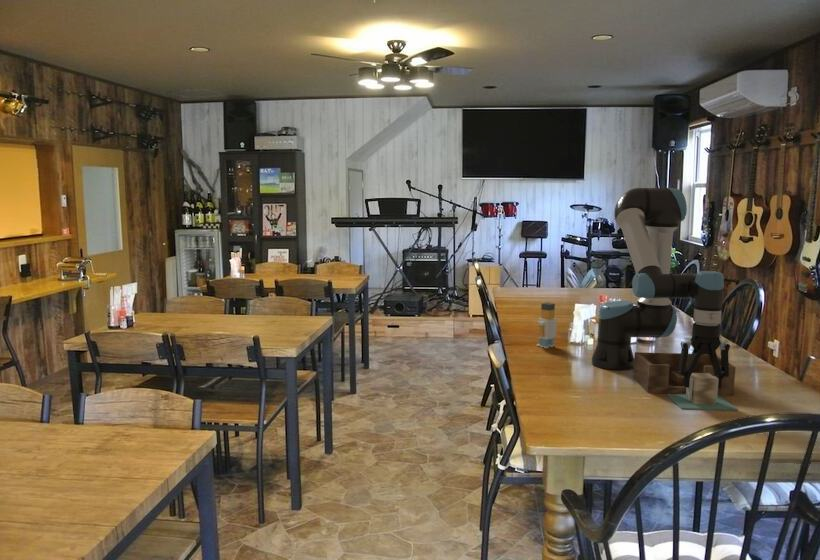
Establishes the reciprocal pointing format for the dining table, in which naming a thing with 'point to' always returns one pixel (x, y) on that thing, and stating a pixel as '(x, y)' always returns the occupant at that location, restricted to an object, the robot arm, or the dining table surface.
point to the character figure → (547, 325)
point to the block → (704, 389)
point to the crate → (674, 372)
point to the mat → (687, 404)
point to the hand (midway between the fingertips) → (701, 397)
